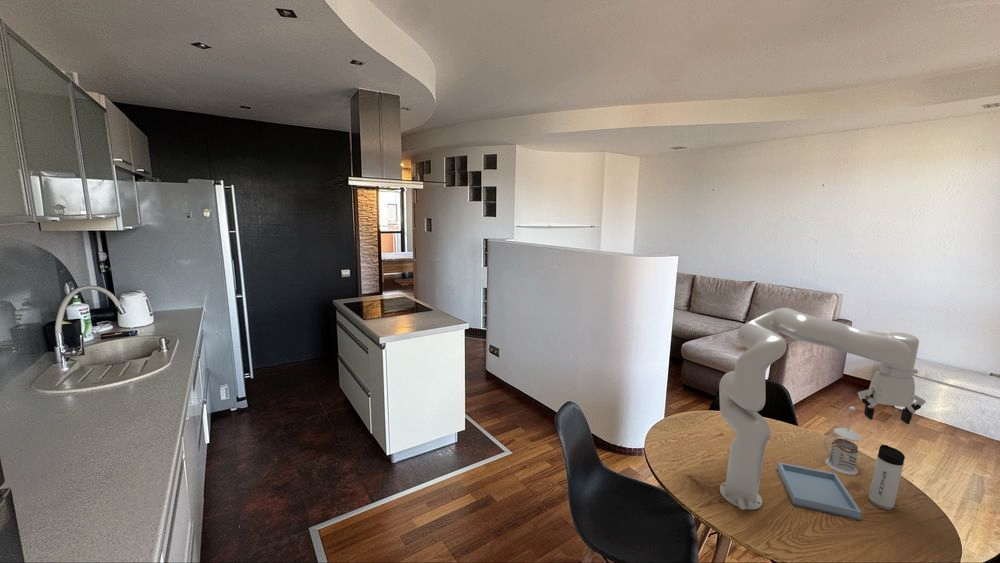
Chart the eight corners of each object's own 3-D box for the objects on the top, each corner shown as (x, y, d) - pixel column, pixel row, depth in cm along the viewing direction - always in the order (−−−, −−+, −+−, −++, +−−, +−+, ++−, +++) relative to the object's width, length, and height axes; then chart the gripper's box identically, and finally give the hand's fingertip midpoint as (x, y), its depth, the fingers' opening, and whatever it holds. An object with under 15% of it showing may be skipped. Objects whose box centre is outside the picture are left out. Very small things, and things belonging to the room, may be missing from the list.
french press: (864, 476, 149) (877, 415, 144) (828, 472, 151) (840, 411, 146) (847, 460, 158) (859, 401, 154) (814, 456, 161) (824, 398, 156)
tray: (860, 520, 128) (861, 512, 128) (793, 505, 134) (794, 497, 134) (834, 480, 146) (835, 473, 146) (776, 468, 153) (777, 461, 152)
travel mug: (882, 496, 139) (893, 444, 135) (898, 511, 132) (911, 457, 128) (862, 495, 139) (873, 443, 135) (878, 509, 133) (890, 455, 129)
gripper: (921, 369, 130) (911, 417, 133) (856, 363, 135) (848, 410, 138) (938, 379, 123) (927, 430, 126) (869, 372, 128) (860, 421, 131)
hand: (886, 419), depth 132 cm, fingers open, 9 cm apart
